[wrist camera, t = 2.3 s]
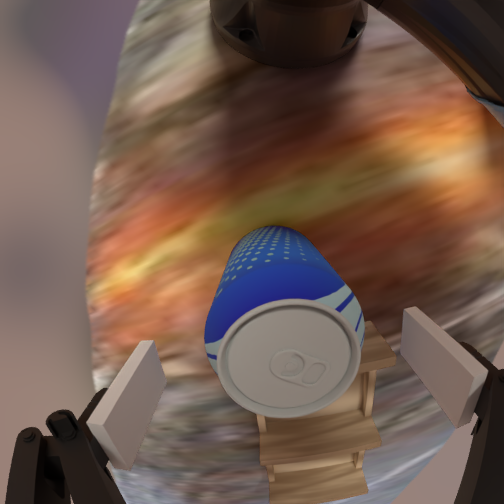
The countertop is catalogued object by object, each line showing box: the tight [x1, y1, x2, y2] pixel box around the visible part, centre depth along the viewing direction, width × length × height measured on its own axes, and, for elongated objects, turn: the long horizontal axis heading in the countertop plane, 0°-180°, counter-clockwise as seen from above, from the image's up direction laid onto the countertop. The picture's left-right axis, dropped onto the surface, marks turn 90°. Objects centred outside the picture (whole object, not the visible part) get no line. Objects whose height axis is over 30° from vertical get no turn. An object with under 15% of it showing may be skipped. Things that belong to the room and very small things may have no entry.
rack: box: [256, 321, 396, 504], centre depth 29 cm, size 24×13×7 cm, turn 7°
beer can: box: [204, 226, 365, 418], centre depth 20 cm, size 8×8×16 cm
